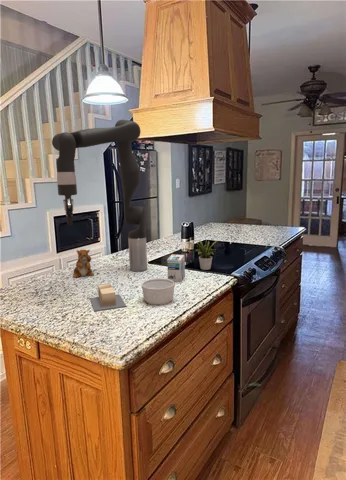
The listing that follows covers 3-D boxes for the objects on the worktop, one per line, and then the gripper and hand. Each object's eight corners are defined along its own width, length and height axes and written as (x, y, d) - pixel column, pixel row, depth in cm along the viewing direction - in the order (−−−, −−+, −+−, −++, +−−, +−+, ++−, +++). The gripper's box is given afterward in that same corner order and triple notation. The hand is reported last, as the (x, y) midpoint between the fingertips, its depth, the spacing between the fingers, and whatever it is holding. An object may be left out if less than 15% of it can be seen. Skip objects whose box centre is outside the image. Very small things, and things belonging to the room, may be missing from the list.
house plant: (185, 270, 176) (185, 239, 173) (194, 264, 189) (194, 235, 186) (212, 273, 171) (212, 241, 168) (219, 266, 184) (219, 236, 181)
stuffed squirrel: (73, 279, 166) (71, 252, 164) (73, 271, 180) (71, 246, 177) (94, 276, 169) (92, 251, 166) (92, 269, 182) (91, 245, 180)
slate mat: (90, 298, 139) (90, 298, 139) (119, 294, 143) (119, 294, 143) (94, 311, 126) (94, 310, 126) (126, 306, 130) (126, 305, 130)
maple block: (97, 284, 140) (101, 294, 129) (110, 283, 141) (115, 292, 130) (98, 296, 141) (102, 306, 129) (110, 294, 142) (115, 304, 131)
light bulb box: (181, 282, 158) (181, 259, 156) (167, 281, 159) (166, 259, 157) (185, 275, 168) (185, 254, 166) (171, 275, 170) (171, 254, 168)
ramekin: (162, 308, 128) (162, 290, 127) (135, 302, 135) (134, 285, 133) (181, 297, 139) (180, 281, 138) (154, 292, 146) (154, 276, 144)
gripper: (77, 183, 136) (80, 226, 139) (75, 182, 148) (78, 222, 151) (57, 184, 133) (61, 227, 136) (56, 183, 145) (60, 223, 149)
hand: (70, 225), depth 144 cm, fingers closed
